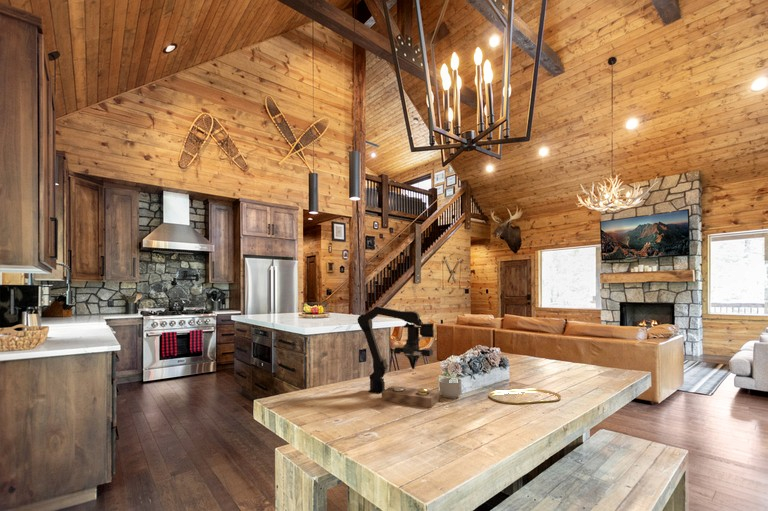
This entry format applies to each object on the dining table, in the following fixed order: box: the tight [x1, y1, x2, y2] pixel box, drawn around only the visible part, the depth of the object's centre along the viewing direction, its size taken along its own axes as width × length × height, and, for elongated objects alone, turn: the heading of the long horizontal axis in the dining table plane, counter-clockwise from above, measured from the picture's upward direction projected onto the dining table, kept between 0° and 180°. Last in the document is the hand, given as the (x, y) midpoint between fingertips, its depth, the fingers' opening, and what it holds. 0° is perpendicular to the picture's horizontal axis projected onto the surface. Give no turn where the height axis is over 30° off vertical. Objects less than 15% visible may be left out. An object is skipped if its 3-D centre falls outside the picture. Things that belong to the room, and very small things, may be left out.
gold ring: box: [488, 388, 562, 405], centre depth 183 cm, size 19×35×2 cm, turn 103°
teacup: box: [438, 376, 463, 399], centre depth 186 cm, size 14×11×8 cm
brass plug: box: [417, 387, 429, 395], centre depth 175 cm, size 5×5×3 cm
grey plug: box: [394, 386, 404, 392], centre depth 180 cm, size 5×5×3 cm
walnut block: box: [381, 385, 441, 409], centre depth 178 cm, size 24×12×4 cm, turn 64°
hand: (413, 368), depth 190 cm, fingers closed
